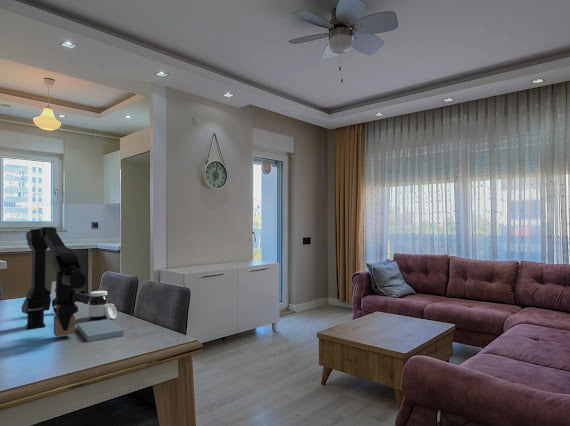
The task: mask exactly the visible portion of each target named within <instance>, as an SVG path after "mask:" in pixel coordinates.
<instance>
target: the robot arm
mask: <svg viewBox="0 0 570 426" xmlns="http://www.w3.org/2000/svg"><path fill="white" fill-rule="evenodd" d="M25 239H26V241H27V242H26V244H27V246H28V247H29V249H30V251H31V281H30V282H31V284H30V285H31V286H30V288H29V289H28V291H27V292H26V294H25V299H24V301H23V303H22V305H21V313H23V314H25V315H26V316H27V317H26V321H27V322H26V323H27V324H25V325H24V326H25V329H26V330H31V329H36V328H43V327H46V323H45V322H44V321H45V311H49V310H50V308H51V306H52V311H53V310H54V312H55V314H56V315H55V316H58V318H59V321H60V323H61V326H62V328H63V330H64V331H67V329H68V326H69V322H70V319H71V316H72V315H75V314H76V313H78V312H79V306H78V305H77V304H76V302H77V303H81V304H82V303H83V304H84V305H89V300H90V297H91V296H90V294H88V293H87V292H86V290H84V289H81V288H83V287H84V286H85V284H86V281H87V278H86V276H85V274H84V273H82V272H81V271H82V263H81V261H80V259H79V257H78V254H77V253H76V252H75V251H74V250H73V249H72V248H69V247H67V246H66V245H65V244H64V242H63V240H62V238H61V237H60V236H59V234H58V232H57V228H56V227H54V226H42V227H40V228H34V229H33V228H32V229H30V230H29V231H27V232H26V234H25ZM48 248H49V250H50V253H51V254H52V258H51V263H52V265H53V268H54V269H55V271H54V274H55V281H56V289H55V292H56V298H55V299H54V300H53V301H52V296H51V290H48V288H47V287H46V265H47V263H46V262H47V261H46V257H47V256H46V255H47V250H48ZM76 289H77V290H79V289H80V290H79V291H76ZM55 305H56V307H55ZM53 307H55V308H53Z"/></svg>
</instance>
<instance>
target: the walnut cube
mask: <svg viewBox="0 0 570 426" xmlns="http://www.w3.org/2000/svg"><path fill="white" fill-rule="evenodd" d="M75 327H76V316H75V314H73V315H72V316H71V319H70V322H69V326H68V329H67V331H64V330H63V328H62V326H61V323H60V321H59V318H58V316H56V315H54V316H53V334H54V336H55V337H60V336H66V335H73V334H75V333H76V328H75Z"/></svg>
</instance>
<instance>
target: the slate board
mask: <svg viewBox="0 0 570 426" xmlns="http://www.w3.org/2000/svg"><path fill="white" fill-rule="evenodd" d="M76 326H77V327H76V329H77V330H78V331H79V333H80V334H81V335H82V336H83V338H84V340H86V341H87V342H88V343H89V342H94V341H101V340H106V339H107V340H108V339H111V338H119V337H123V336H124V329H123V328H121V327H120V326H119V325H117V324H116V323H115V322H114V321H112V319H109V318H106V319H102V320H91V321H84V322H78V323H77V324H76Z"/></svg>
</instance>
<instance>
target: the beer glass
mask: <svg viewBox="0 0 570 426" xmlns="http://www.w3.org/2000/svg"><path fill="white" fill-rule="evenodd" d="M55 289H56V280H55V281H51V289H50V296H51V302H52V301H53V300H54V299H55V298H56V292H55ZM55 307H56V305H55ZM55 307H52V313H51V314H52V315H54V316H56V314H55V312H54V310H53V308H55Z"/></svg>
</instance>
